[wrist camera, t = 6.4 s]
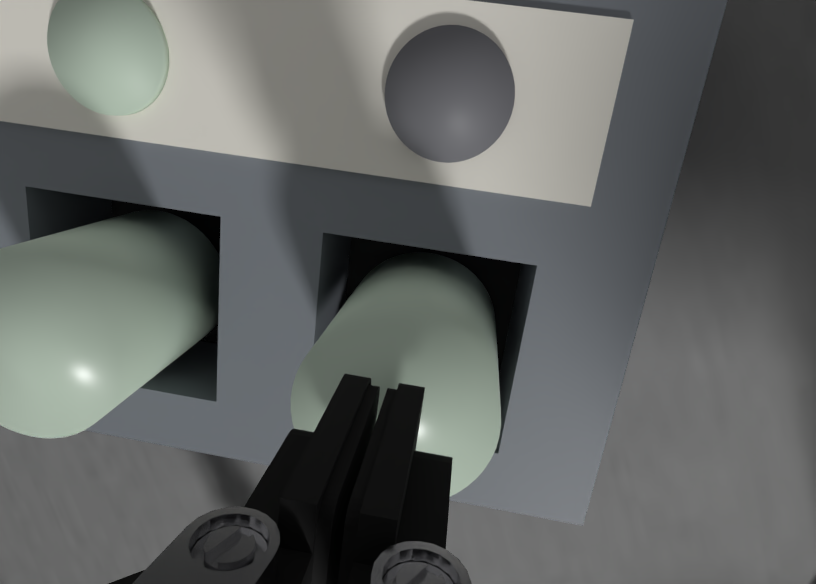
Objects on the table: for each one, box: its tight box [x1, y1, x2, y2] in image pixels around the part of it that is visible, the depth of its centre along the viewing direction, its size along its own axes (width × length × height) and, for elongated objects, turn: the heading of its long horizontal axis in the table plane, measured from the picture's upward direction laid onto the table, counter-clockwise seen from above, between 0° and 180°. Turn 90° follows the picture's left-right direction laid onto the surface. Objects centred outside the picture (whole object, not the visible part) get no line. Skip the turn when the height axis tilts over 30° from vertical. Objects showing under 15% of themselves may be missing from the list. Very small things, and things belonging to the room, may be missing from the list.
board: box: [0, 0, 728, 526], centre depth 18 cm, size 30×15×4 cm, turn 83°
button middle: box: [0, 210, 220, 438], centre depth 16 cm, size 5×5×6 cm
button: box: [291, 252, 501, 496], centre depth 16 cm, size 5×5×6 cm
